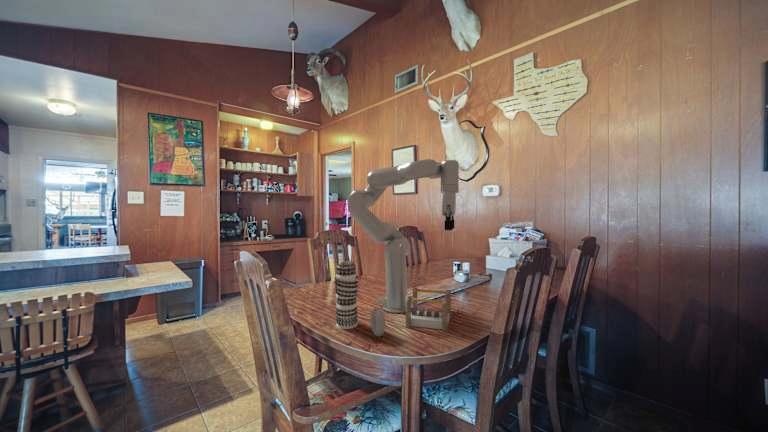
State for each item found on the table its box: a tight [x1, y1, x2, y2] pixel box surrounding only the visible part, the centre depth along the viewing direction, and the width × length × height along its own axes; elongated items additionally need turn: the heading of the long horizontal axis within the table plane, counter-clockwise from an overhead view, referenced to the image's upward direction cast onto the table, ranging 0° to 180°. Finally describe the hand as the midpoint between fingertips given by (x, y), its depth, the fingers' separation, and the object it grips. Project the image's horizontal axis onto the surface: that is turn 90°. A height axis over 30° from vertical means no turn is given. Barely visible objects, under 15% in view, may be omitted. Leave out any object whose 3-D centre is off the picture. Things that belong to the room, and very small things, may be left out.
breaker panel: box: [411, 307, 450, 330], centre depth 122 cm, size 15×10×5 cm, turn 73°
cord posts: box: [405, 286, 452, 333], centre depth 122 cm, size 16×15×12 cm
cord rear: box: [417, 288, 446, 295], centre depth 128 cm, size 13×1×1 cm, turn 73°
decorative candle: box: [334, 260, 359, 330], centre depth 121 cm, size 9×9×25 cm
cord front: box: [410, 297, 443, 304], centre depth 116 cm, size 13×1×1 cm, turn 73°
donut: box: [370, 307, 386, 337], centre depth 111 cm, size 10×4×10 cm, turn 19°
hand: (449, 229), depth 132 cm, fingers open, 9 cm apart
